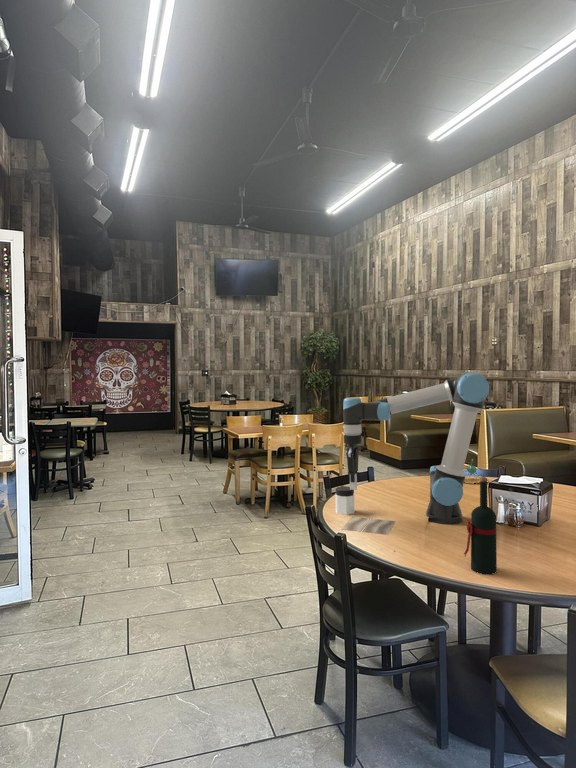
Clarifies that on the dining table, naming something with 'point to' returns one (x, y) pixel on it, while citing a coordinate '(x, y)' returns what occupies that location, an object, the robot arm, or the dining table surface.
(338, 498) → the jar
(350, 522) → the plank
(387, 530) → the grey flat panel
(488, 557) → the wine bottle
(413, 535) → the dining table surface
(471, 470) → the frog figurine
